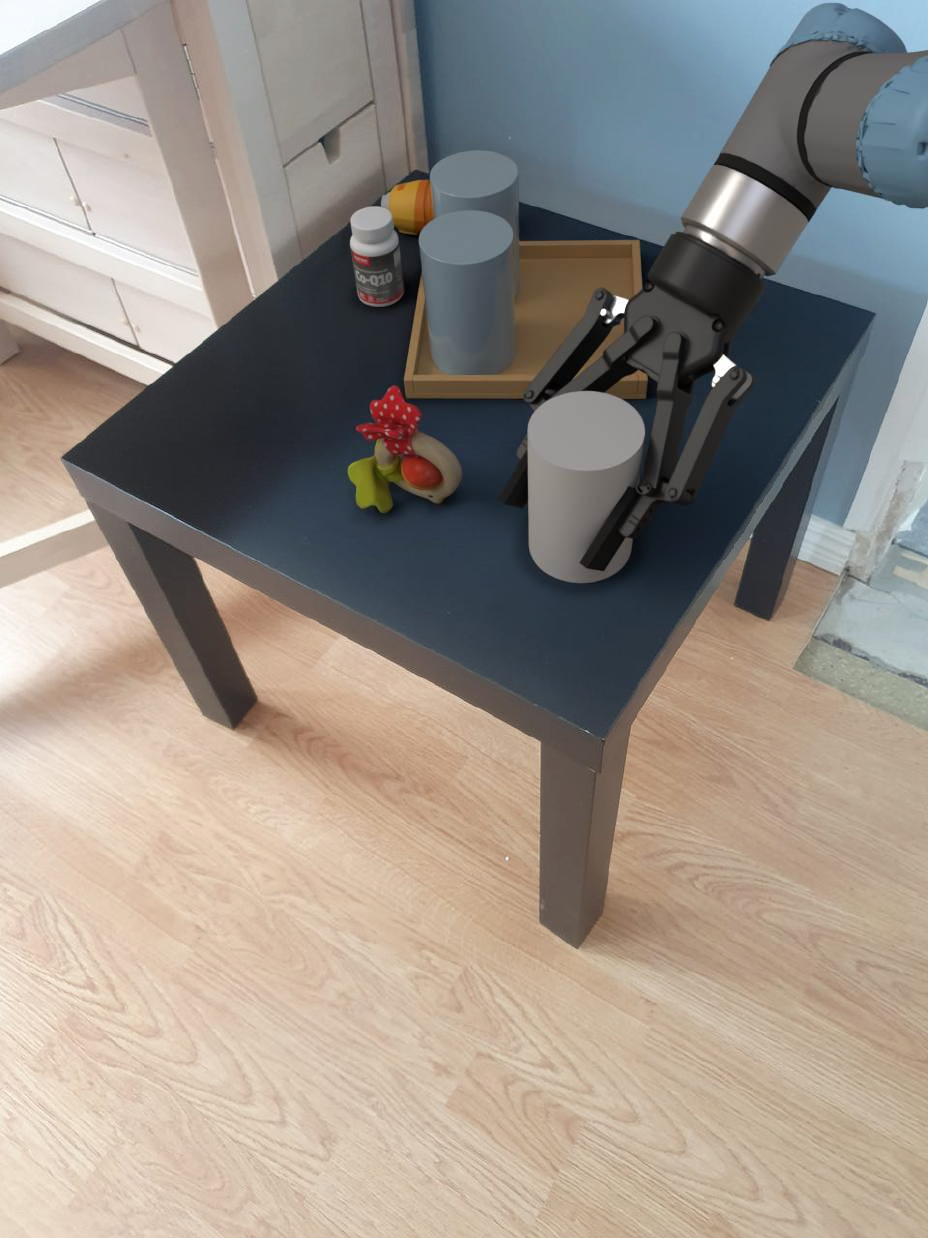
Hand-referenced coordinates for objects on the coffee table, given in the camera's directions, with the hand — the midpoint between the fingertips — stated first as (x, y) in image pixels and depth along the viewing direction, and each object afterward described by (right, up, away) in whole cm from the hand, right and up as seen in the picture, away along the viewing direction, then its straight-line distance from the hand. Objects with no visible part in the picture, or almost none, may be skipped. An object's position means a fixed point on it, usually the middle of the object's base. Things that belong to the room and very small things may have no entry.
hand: (550, 534), depth 75 cm
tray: (0, +22, +21) cm, 31 cm away
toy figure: (-9, +35, +32) cm, 48 cm away
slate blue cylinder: (-6, +19, +18) cm, 27 cm away
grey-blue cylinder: (-5, +27, +24) cm, 36 cm away
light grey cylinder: (+3, 0, +4) cm, 5 cm away
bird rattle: (-11, +4, +9) cm, 14 cm away
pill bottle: (-15, +26, +26) cm, 40 cm away
